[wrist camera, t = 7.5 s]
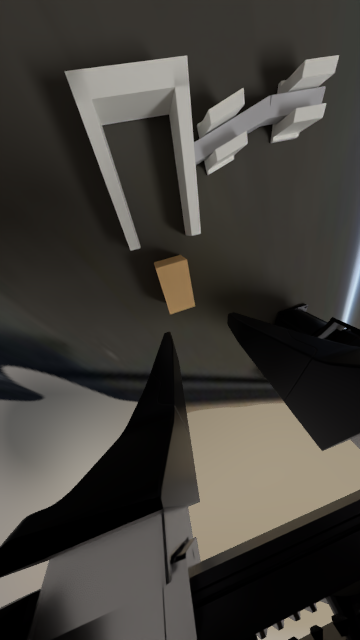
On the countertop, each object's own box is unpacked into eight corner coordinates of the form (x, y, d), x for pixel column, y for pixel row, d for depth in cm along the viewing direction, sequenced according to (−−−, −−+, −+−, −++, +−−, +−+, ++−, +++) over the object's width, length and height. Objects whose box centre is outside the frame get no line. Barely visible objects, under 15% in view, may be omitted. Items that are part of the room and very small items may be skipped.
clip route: (313, 78, 11) (348, 47, 9) (296, 157, 14) (320, 144, 12) (180, 99, 10) (189, 69, 9) (188, 179, 13) (196, 170, 11)
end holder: (178, 90, 10) (187, 55, 8) (193, 233, 16) (200, 233, 14) (80, 104, 10) (64, 71, 8) (132, 248, 15) (130, 250, 13)
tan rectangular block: (179, 254, 17) (186, 259, 14) (187, 295, 20) (195, 306, 18) (153, 262, 17) (155, 268, 14) (166, 302, 20) (170, 314, 17)
